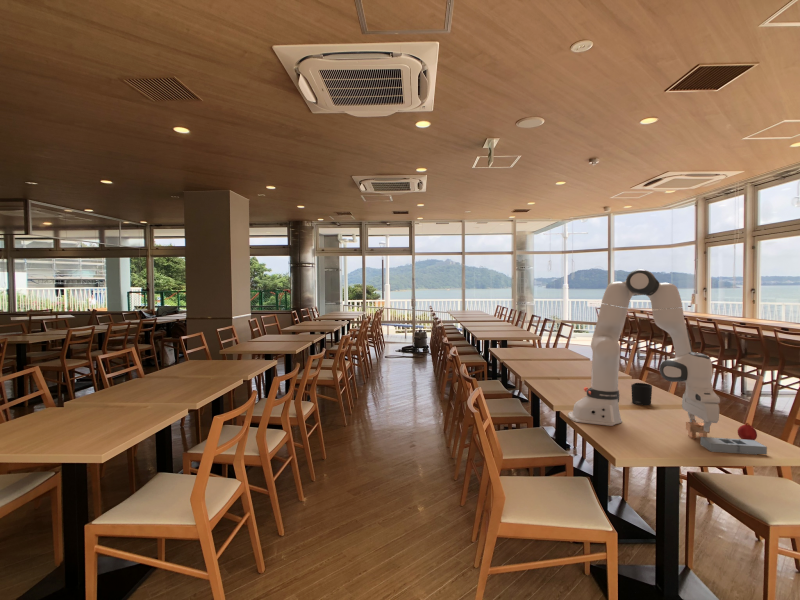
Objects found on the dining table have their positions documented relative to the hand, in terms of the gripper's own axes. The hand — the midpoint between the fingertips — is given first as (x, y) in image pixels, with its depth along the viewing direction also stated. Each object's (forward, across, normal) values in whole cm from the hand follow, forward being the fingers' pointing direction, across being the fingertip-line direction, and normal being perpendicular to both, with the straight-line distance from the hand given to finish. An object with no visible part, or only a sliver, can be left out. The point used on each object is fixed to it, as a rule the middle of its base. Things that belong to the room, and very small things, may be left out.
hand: (699, 427), depth 166 cm
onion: (+4, +4, +15) cm, 16 cm away
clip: (+4, 0, -1) cm, 4 cm away
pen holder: (+4, -52, -2) cm, 52 cm away
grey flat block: (+4, +12, +5) cm, 14 cm away
